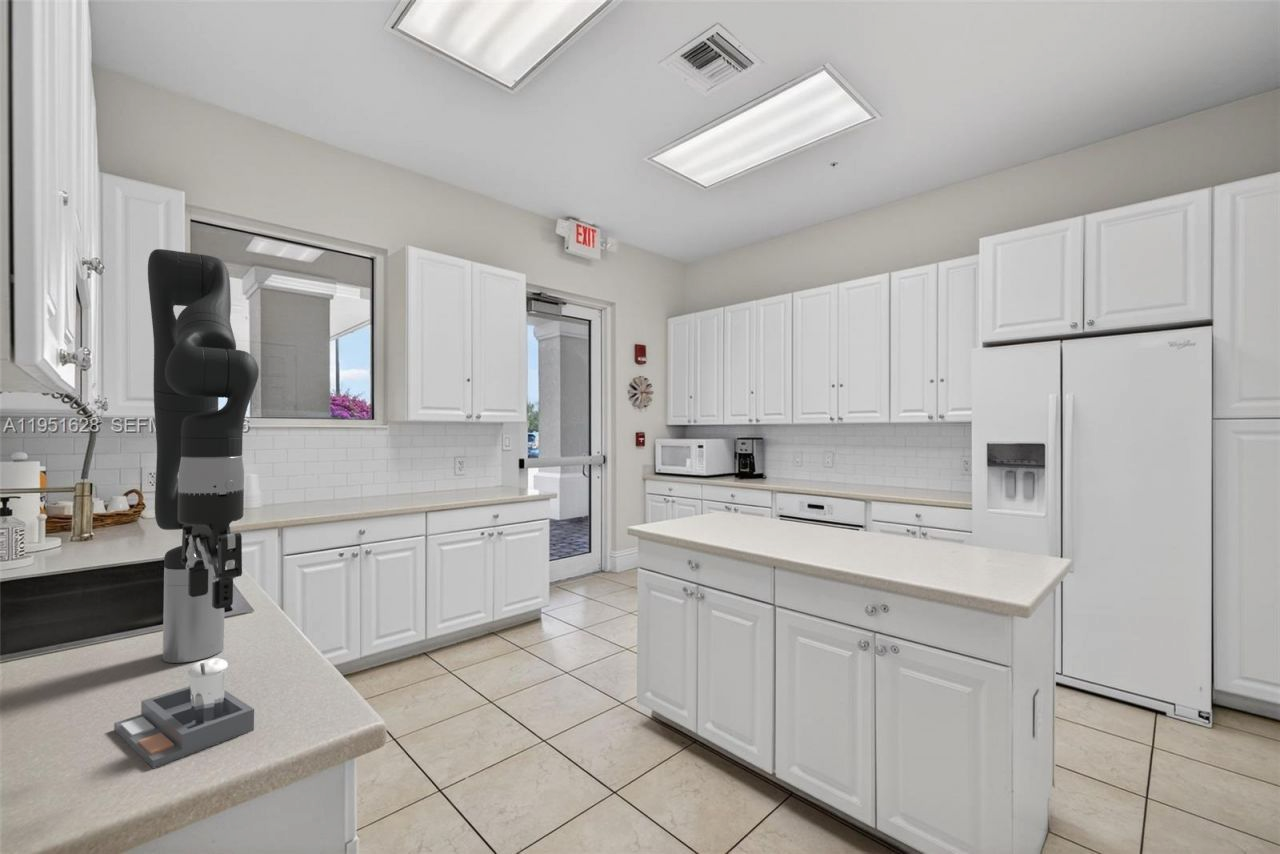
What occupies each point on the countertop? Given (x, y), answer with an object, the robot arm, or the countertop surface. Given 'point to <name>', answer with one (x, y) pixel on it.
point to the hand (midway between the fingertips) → (210, 601)
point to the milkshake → (207, 690)
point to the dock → (181, 727)
